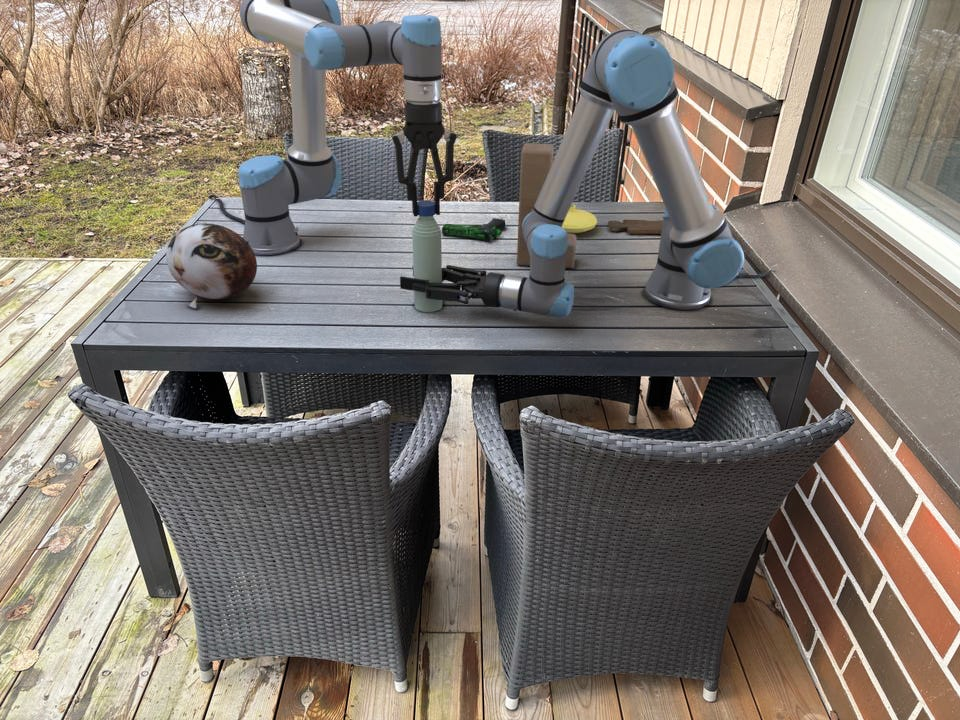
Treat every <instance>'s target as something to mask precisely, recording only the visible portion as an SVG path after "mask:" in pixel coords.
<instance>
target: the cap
mask: <svg viewBox="0 0 960 720" xmlns="http://www.w3.org/2000/svg"><path fill="white" fill-rule="evenodd" d="M417 211H418V217H419V216H424V217H428V216H433V217H434V216H436V203H435V202H434V200H431V199H430V200H429V199H428V200H427V199H423V200H417Z"/></svg>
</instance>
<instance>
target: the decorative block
mask: <svg viewBox="0 0 960 720" xmlns="http://www.w3.org/2000/svg"><path fill="white" fill-rule="evenodd" d="M554 149H555V147H554V145H553V144H551V143H533V142H526V143H524V144H523V146H522V149H521V154H520V174H519V175H520V176H519V178H520V179H519V199H518V218H517V219H518V220H517V224H518V225H517V244H516V248H517V249H516V265H518V266H529V267H530V254H529V251H528V248H527V245H526V242H525V240H524V237H523V235H522V223H523V220H524V218H525V217H526V216H527V215H528V214H529V213H531V212H532V210H533V208H534V205H535V203H536V201H537V198H538V196H539V193H540V191H541V189H542V186H543V184H544V182H545V179H546V177H547V175H548V172H549V170H550V168H551V165H552V163H553V161H554ZM567 234H568V238H567V243H568V249H567V255H566V266H565V269H574V267H575V262H576V261H575V260H576V250H577V235H576V234H575V233H567Z"/></svg>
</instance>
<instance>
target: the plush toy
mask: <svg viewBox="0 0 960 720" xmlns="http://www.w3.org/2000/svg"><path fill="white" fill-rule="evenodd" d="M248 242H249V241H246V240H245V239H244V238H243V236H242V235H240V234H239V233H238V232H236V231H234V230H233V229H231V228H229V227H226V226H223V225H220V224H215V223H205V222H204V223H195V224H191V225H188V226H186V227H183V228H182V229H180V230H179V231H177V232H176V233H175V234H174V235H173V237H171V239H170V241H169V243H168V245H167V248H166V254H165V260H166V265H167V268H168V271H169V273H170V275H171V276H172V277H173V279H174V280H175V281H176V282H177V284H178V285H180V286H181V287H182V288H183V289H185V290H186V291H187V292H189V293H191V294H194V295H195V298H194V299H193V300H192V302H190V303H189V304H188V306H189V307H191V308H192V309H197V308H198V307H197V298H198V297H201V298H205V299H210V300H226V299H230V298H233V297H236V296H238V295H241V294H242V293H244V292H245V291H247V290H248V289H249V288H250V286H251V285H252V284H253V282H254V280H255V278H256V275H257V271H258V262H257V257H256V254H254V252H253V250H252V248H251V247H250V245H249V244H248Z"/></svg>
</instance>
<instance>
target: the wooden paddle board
mask: <svg viewBox="0 0 960 720" xmlns="http://www.w3.org/2000/svg"><path fill="white" fill-rule="evenodd" d="M607 224H608V229H609V231H610V232H613V233H615V232H616V233H617V232H623V231H627V234H629V235H641V234H655V235H656V234H657V235H659V234H660V235H661V232H662V225H663V219H660V220H657V219H656V220H649V219H648V220H647V219H623V220H622V222H621V221H619V220H615V219H614V220H608V221H607Z"/></svg>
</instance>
